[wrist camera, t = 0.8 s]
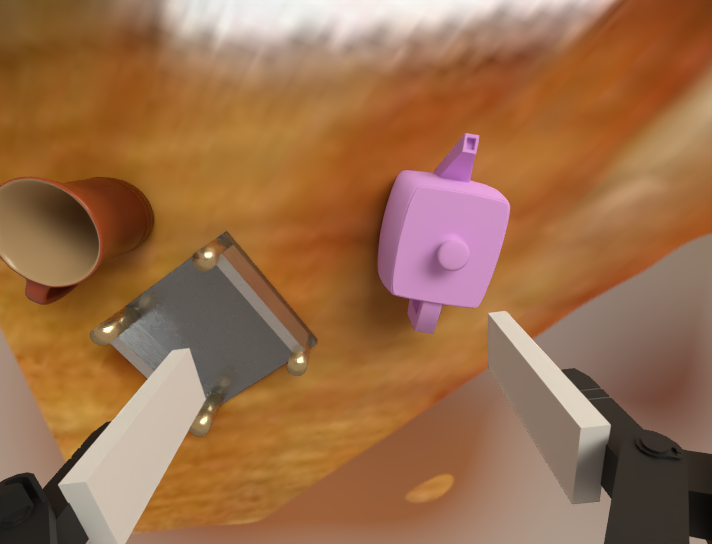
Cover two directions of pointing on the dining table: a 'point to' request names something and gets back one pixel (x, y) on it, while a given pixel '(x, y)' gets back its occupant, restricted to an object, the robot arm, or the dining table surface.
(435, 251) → the teapot
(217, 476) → the dining table surface
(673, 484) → the robot arm
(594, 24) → the dining table surface
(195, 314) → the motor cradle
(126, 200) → the mug
